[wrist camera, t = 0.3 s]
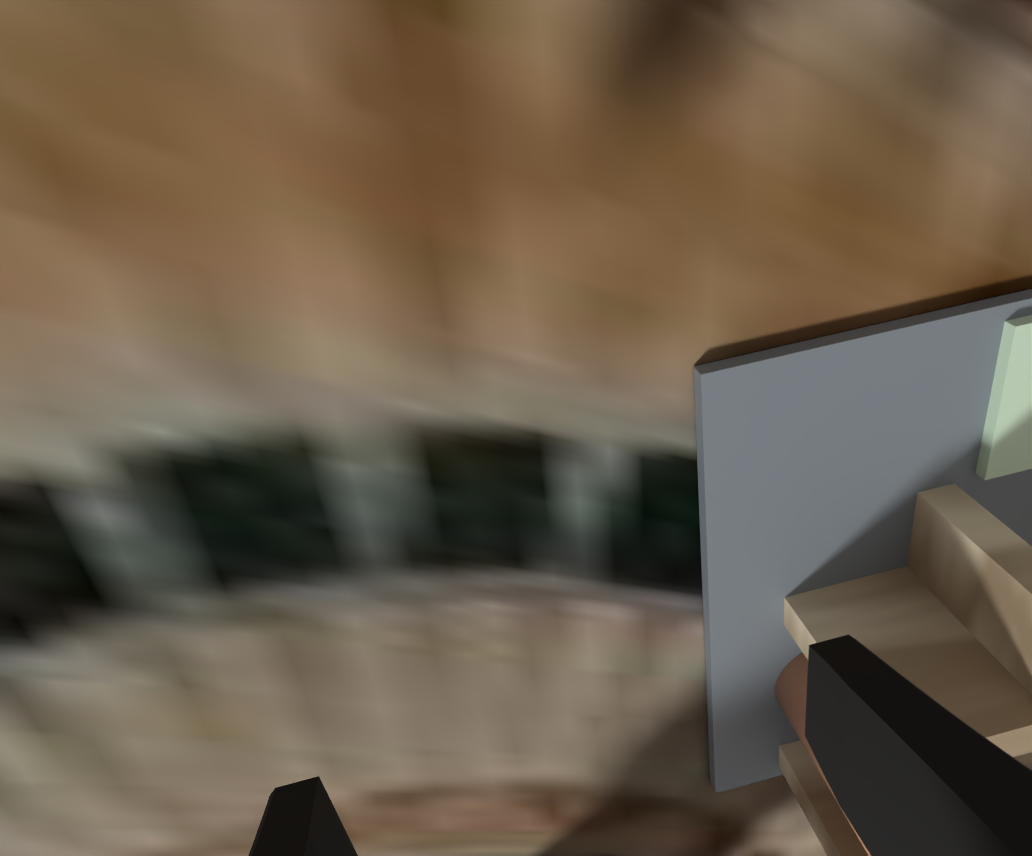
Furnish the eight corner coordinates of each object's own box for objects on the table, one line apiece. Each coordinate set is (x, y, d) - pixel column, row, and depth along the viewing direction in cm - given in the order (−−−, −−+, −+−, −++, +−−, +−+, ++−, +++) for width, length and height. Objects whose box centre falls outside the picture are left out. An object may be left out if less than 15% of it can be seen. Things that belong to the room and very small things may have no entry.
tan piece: (1091, 680, 29) (1245, 825, 24) (778, 765, 28) (871, 935, 23) (1179, 427, 23) (1410, 548, 18) (787, 525, 22) (914, 681, 17)
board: (1091, 677, 30) (1102, 687, 30) (710, 781, 29) (715, 793, 29) (1244, 239, 21) (1263, 244, 20) (693, 366, 20) (700, 374, 19)
